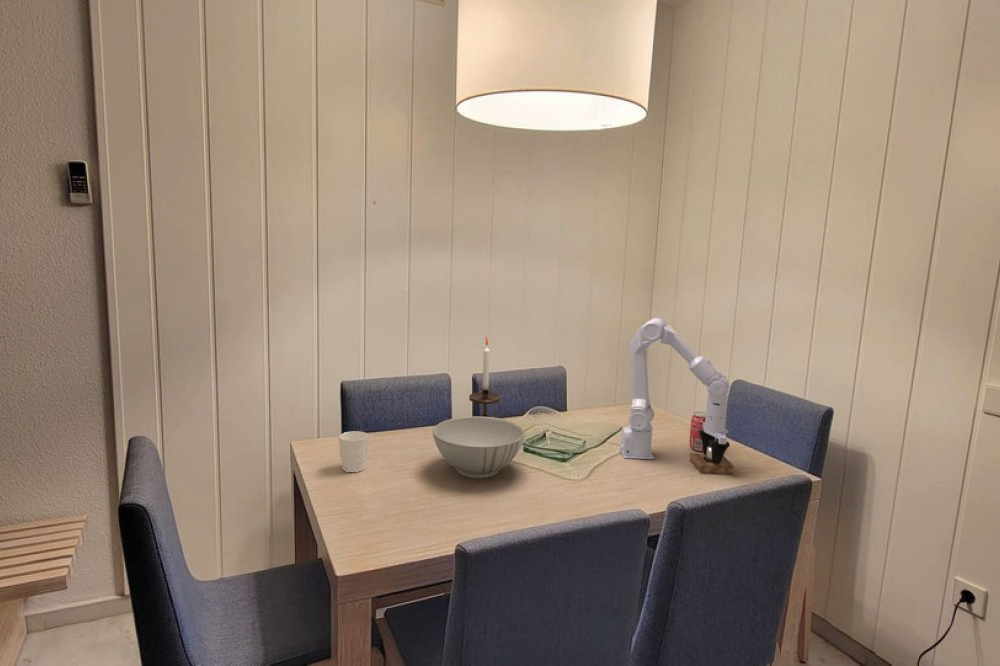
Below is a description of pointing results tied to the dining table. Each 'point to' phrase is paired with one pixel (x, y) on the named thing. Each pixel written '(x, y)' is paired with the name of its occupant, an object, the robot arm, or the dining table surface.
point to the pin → (709, 454)
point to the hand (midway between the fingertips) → (711, 458)
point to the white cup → (353, 451)
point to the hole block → (711, 465)
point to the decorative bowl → (478, 444)
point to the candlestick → (485, 387)
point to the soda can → (697, 430)
